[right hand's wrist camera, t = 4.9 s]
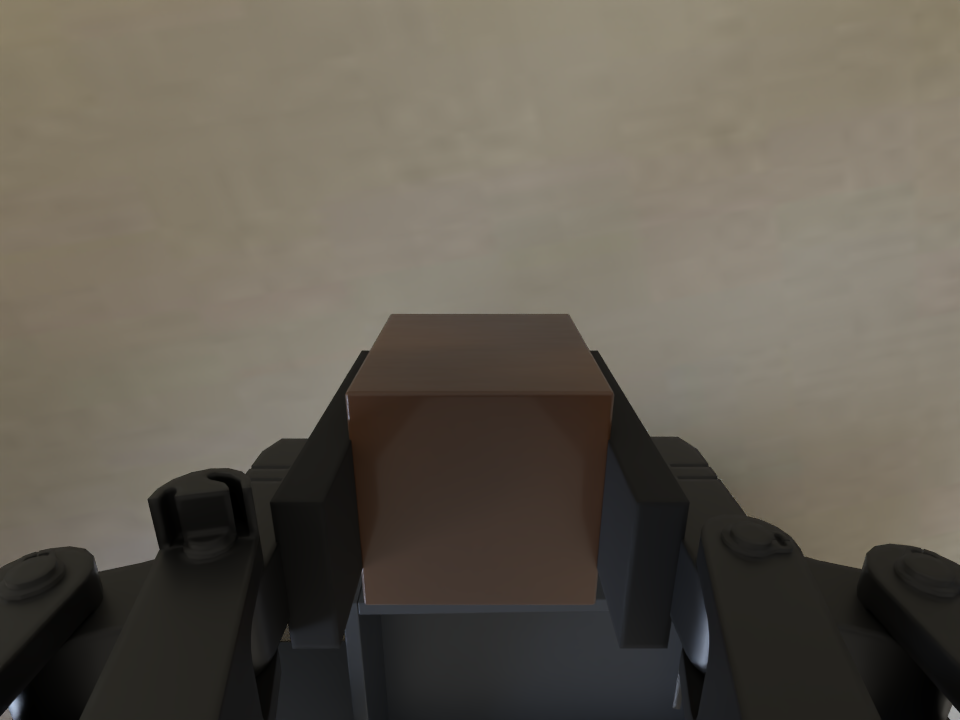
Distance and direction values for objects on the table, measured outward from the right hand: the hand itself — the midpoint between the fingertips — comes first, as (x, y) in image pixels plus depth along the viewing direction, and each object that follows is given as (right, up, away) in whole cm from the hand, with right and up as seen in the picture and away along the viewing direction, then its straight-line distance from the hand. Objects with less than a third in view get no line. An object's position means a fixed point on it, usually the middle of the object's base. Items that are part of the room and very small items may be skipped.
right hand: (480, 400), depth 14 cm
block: (0, 0, 0) cm, 0 cm away
